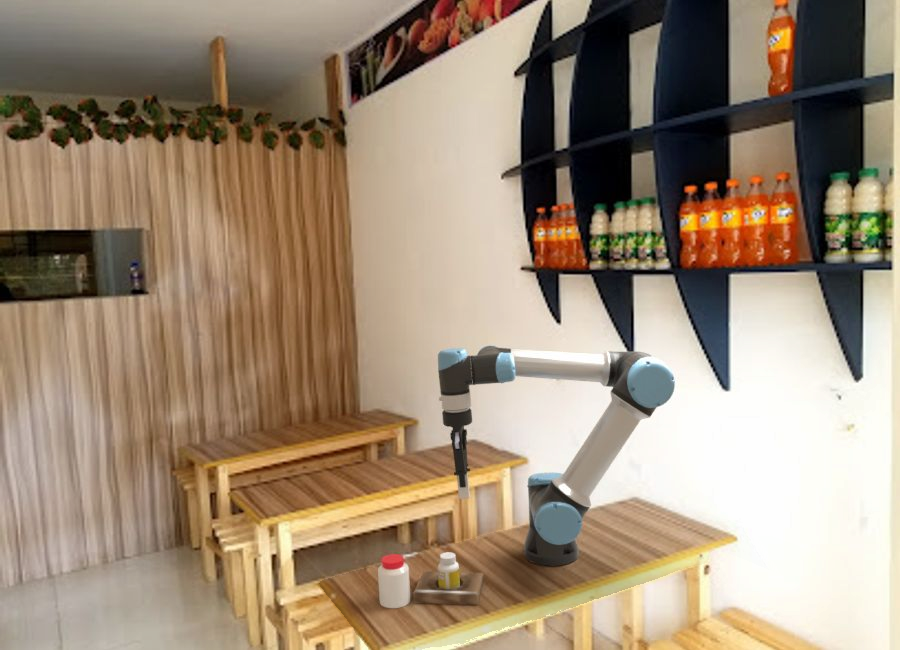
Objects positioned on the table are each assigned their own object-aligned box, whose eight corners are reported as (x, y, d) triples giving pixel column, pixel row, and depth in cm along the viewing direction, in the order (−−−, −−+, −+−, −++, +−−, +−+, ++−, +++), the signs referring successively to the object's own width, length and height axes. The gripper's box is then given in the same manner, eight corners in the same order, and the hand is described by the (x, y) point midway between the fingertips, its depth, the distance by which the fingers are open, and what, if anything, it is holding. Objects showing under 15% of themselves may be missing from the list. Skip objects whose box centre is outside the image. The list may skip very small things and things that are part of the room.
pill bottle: (385, 611, 172) (382, 568, 171) (375, 597, 179) (373, 555, 178) (415, 603, 175) (412, 561, 174) (404, 590, 183) (402, 549, 181)
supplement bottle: (462, 587, 183) (460, 551, 182) (458, 598, 177) (456, 560, 176) (441, 586, 184) (439, 550, 183) (437, 597, 178) (435, 559, 177)
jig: (483, 582, 185) (483, 571, 185) (477, 605, 173) (477, 594, 173) (423, 580, 188) (423, 570, 187) (413, 602, 176) (413, 591, 176)
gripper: (445, 404, 189) (452, 489, 192) (439, 415, 176) (447, 507, 179) (473, 402, 188) (480, 488, 191) (469, 414, 175) (476, 506, 178)
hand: (464, 497), depth 185 cm, fingers closed
